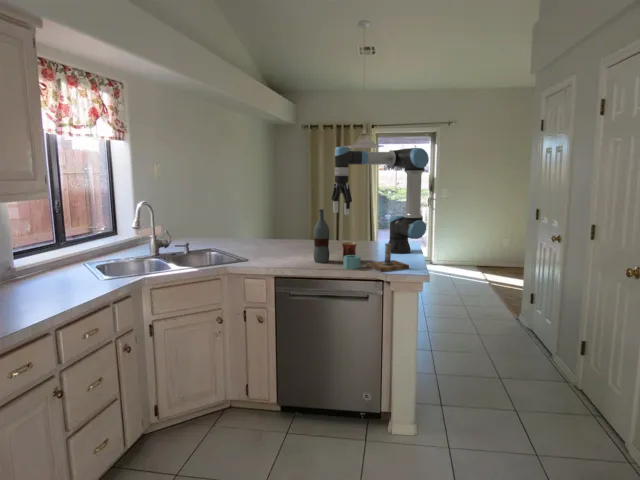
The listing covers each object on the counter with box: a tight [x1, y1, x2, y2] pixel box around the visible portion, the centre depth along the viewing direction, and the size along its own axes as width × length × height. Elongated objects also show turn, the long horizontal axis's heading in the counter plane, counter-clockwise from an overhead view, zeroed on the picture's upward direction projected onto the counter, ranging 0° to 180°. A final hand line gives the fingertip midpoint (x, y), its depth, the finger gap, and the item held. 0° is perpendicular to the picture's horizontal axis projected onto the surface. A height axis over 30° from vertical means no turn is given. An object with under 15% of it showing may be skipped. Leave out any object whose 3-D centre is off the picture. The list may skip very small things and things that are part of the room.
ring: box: [342, 254, 361, 270], centre depth 245 cm, size 8×8×6 cm
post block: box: [366, 242, 410, 273], centre depth 243 cm, size 18×14×13 cm
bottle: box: [313, 208, 330, 264], centre depth 258 cm, size 9×9×30 cm
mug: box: [341, 241, 358, 258], centre depth 259 cm, size 12×9×10 cm
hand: (341, 213), depth 253 cm, fingers open, 13 cm apart
